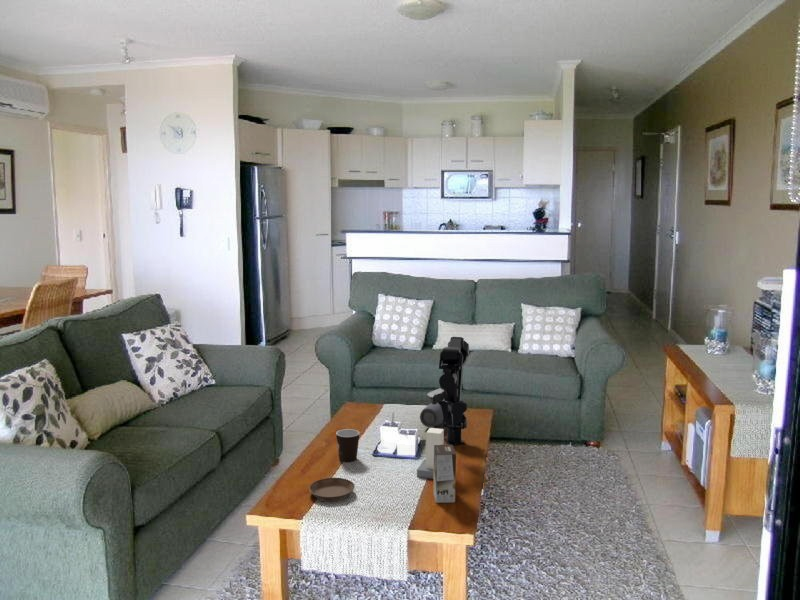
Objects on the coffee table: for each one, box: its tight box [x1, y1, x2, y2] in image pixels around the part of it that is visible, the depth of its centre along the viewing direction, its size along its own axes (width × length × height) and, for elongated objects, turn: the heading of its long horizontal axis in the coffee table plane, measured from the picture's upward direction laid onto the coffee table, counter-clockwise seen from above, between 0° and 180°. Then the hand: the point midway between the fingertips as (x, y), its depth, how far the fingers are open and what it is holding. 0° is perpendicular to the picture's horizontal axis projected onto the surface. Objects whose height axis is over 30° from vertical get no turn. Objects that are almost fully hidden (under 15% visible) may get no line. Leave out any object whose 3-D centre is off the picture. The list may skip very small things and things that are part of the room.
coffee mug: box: [335, 428, 361, 463], centre depth 253 cm, size 12×9×10 cm
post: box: [425, 427, 445, 469], centre depth 239 cm, size 5×5×13 cm
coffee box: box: [432, 444, 457, 504], centre depth 220 cm, size 9×6×16 cm
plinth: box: [416, 459, 434, 480], centre depth 240 cm, size 10×10×2 cm
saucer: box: [308, 477, 356, 502], centre depth 223 cm, size 15×15×3 cm
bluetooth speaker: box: [419, 402, 443, 428], centre depth 294 cm, size 23×9×10 cm, turn 155°
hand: (449, 423), depth 254 cm, fingers open, 9 cm apart
